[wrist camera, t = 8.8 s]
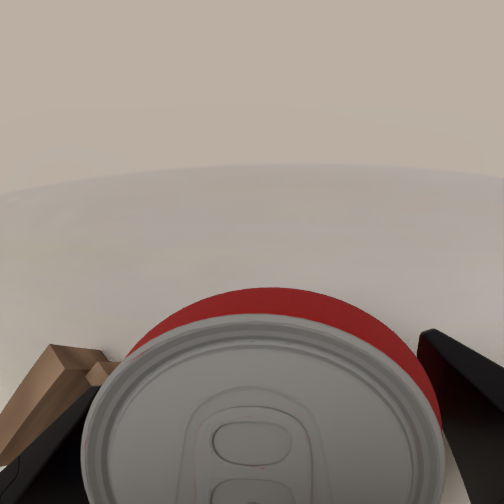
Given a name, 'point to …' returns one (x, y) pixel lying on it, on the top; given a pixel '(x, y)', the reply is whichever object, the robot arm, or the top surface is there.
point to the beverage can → (266, 409)
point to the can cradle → (48, 394)
